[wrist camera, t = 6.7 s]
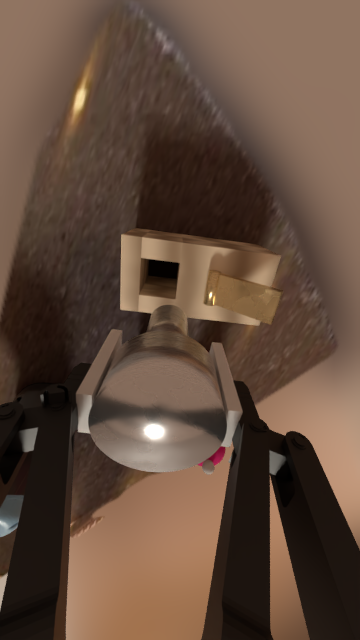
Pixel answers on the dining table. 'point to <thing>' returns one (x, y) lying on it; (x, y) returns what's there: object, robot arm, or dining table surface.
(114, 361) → the silver capsule
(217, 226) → the dining table surface
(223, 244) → the maple block
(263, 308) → the brass latch
